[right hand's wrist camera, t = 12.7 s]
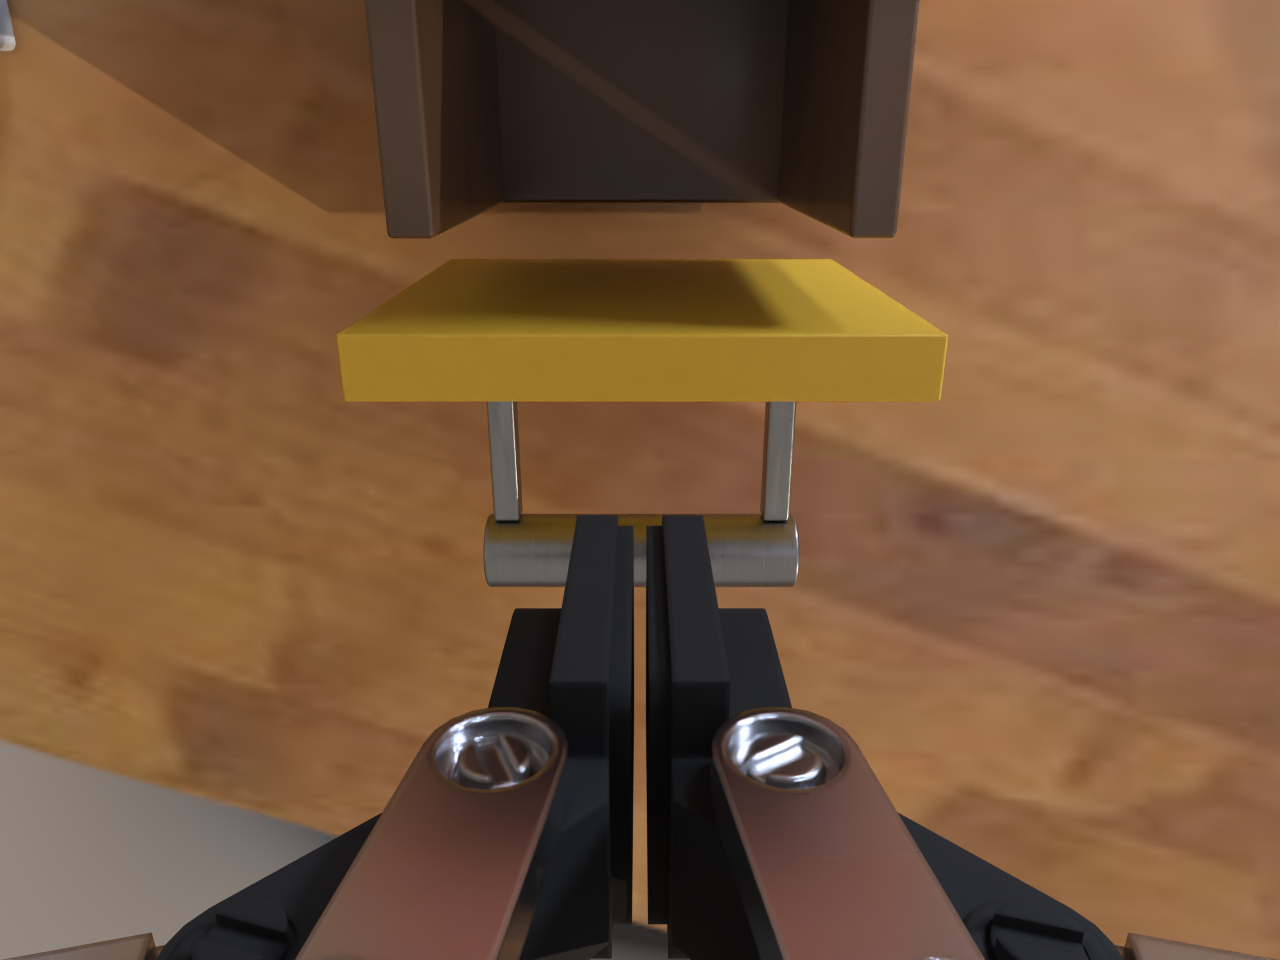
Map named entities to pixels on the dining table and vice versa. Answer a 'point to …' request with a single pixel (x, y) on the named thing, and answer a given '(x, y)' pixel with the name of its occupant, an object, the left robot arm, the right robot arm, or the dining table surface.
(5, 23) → the hard drive box
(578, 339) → the drawer
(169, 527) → the dining table surface
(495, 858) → the right robot arm
